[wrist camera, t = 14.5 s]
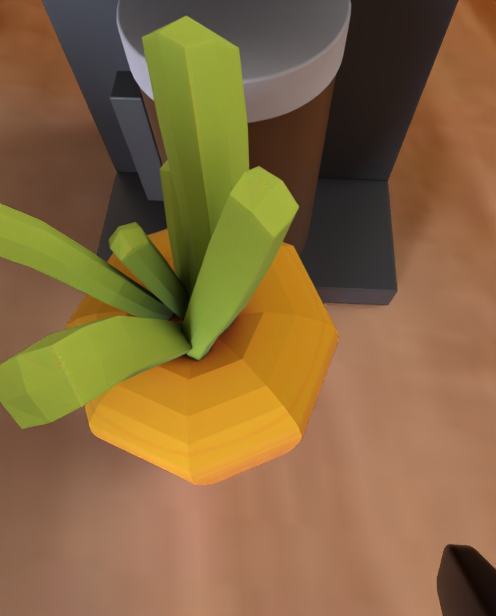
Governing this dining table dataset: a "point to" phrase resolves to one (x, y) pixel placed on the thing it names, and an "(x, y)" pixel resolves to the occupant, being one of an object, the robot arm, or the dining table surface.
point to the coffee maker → (275, 113)
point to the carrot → (183, 294)
